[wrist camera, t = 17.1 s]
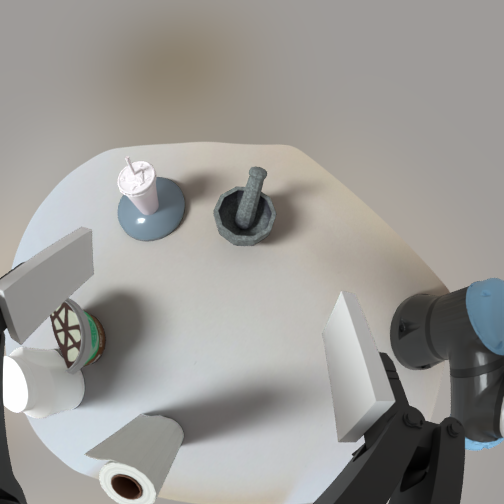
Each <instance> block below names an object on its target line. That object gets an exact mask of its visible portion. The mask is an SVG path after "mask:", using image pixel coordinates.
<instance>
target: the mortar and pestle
mask: <svg viewBox="0 0 504 504" xmlns="http://www.w3.org/2000/svg"><path fill="white" fill-rule="evenodd" d="M249 175H250V176H249V179H248V182H247V185H246V187H235V188H233V189H231V190H229V191H227V192H226V193H224V194H222V195H221V196H220V198H219V200H218V202H217V204H216V206H215V209H214V217H215V221H216V224H217V228H218V231H219V234H220V235H221V236H223V237H224V238H225V239H227V240H228V241H229V242H231V243H232V244H233V245H236V246H253V245H255V244H256V243H258V242H259V241H261V240H263V239H264V238H266V237H267V236H268V235H269V234H270V231H271V229H272V226H273V223H274V220H275V217H276V212H275V209H274V206H273V204H272V201H271V199H270V197H268V196H267V195H265V194H264V193H262V192H261V190H262V186H263V181H264V179H265V178H266V176H267V172H266V170H265V169H263V168H261V167H251V169H250V170H249Z"/></svg>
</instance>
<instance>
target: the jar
mask: <svg viewBox="0 0 504 504" xmlns="http://www.w3.org/2000/svg"><path fill="white" fill-rule="evenodd" d="M67 369H68V368H67V366H66V363H65V360H64V358H63V357H62V356H61V355H60V354H59V353H58V352H57V351H56V350H52V349H50V350H46V349H35V348H27V347H19V348H17V349H15V350H14V351H13V352H12V353H11V354H10V356H4V362H3V403H4V405H5V406H6V407H7V408H8V409H9V410H11V411H13V412H24V413H25V414H27V415H28V416H31V417H33V418H36V419H42V418H46V417H48V416H50V415H54V414H57V413H60V412H64V411H68V410H72V409H74V408H76V407H77V406H78V405H79V404H80V403H81V401H82V399H83V396H84V391H85V384H84V378H83V375H82V372H81V370H79V371H78V372H76V373H75V374H70V373H68V372H65V370H67Z"/></svg>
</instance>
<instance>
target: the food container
mask: <svg viewBox="0 0 504 504" xmlns="http://www.w3.org/2000/svg"><path fill="white" fill-rule="evenodd" d="M50 318H51V322H52V327H53V331H54V335H55V338H56V340H57V343H58V345H59V347H60V350H61V352H62V355H63V358H64V360H65V363H66V366H67V368H68V369H67V370H65V372H68V373H70V374H75V373H76V372H78V371H79V370H80V369H81V368H82V367H83V366H86V365H90V364H92V363H94V362H96V361H97V360H98V359H99V358H100V357H101V356H102V353H103V351H104V349H105V341H106V339H105V332H104V329H103V327H102V325H101V323H100V322H99V321H98V320H97V319H96V318H95V317H94V316H92V315H90V314H88V313H87V312H85V311H83V310H82V309H81V307H80V306H79V305H78V304H77V303H76V302H74V301H73V300H71V299H69V298H67V299H66V300H65V301H64V302H63V303H62V304H61V305H60V306H59V307H58V308H57V309H56V310H55V311H54V312H53V313H52V314H51V315H50Z"/></svg>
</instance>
